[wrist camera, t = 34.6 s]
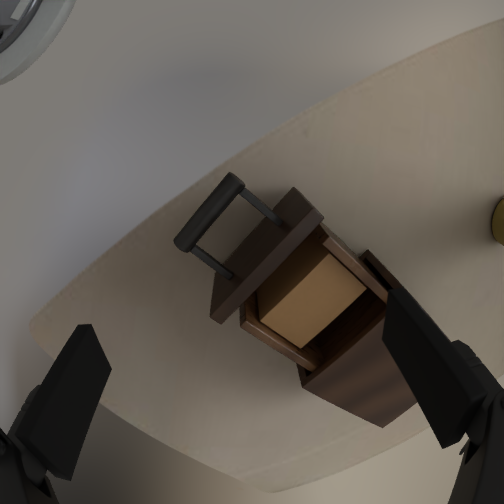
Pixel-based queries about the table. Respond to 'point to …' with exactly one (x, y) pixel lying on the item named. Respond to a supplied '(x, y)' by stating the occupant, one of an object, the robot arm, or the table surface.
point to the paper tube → (498, 222)
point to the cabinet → (364, 369)
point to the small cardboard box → (307, 292)
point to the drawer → (265, 263)
